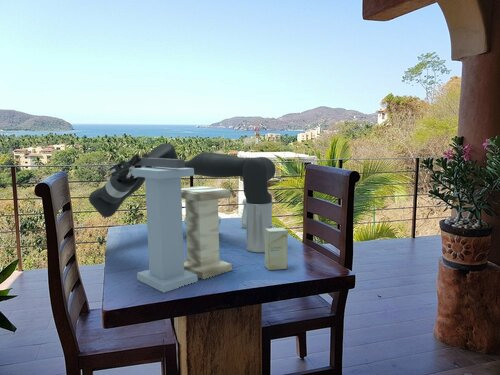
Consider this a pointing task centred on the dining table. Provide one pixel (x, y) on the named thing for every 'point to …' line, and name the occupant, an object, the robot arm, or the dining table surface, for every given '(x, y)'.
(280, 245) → the skincare box
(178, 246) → the tall stand
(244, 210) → the salt shaker
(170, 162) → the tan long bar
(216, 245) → the marble stand
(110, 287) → the dining table surface
